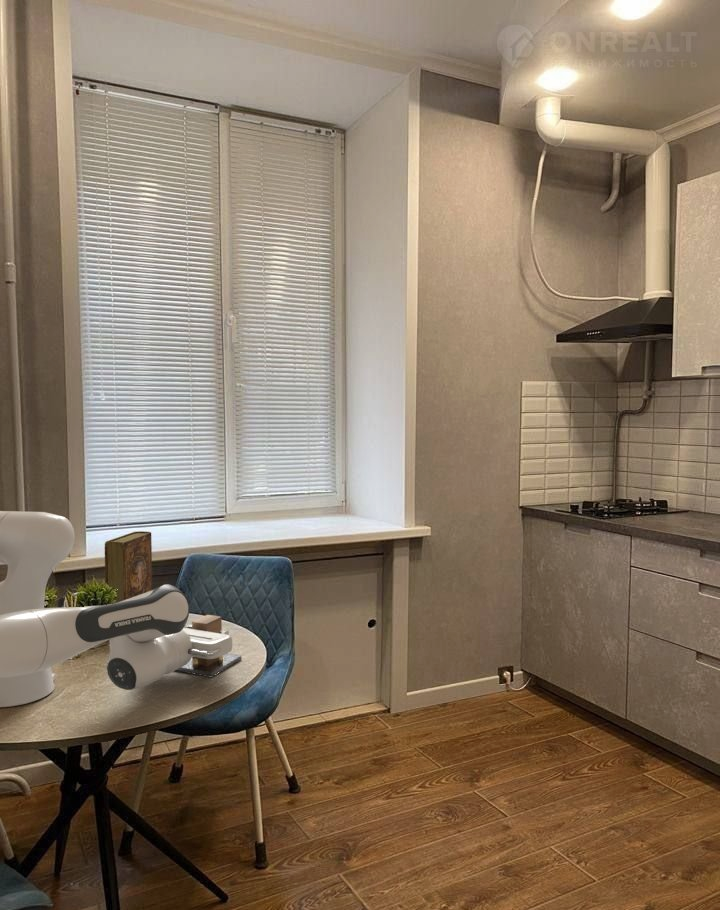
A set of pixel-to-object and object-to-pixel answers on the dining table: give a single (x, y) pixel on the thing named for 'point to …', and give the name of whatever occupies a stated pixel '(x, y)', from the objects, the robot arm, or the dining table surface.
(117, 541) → the book
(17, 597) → the robot arm
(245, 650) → the dining table surface
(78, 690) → the dining table surface
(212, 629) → the board block
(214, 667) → the pin plate
